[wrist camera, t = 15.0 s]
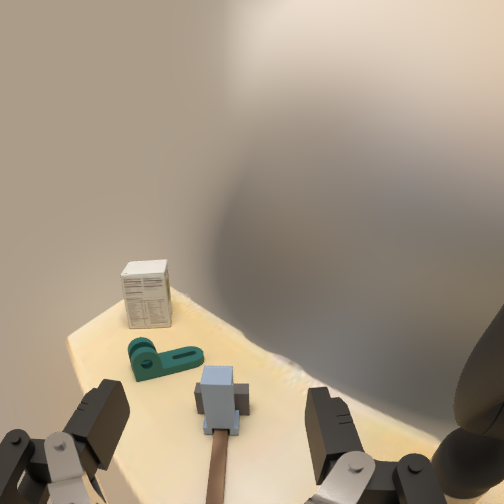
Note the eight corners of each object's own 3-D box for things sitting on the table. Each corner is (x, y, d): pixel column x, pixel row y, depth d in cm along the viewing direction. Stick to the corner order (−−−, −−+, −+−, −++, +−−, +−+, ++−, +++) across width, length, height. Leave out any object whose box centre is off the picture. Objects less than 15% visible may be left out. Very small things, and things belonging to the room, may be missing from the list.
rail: (229, 415, 51) (229, 411, 51) (220, 547, 23) (219, 545, 23) (217, 414, 51) (216, 410, 51) (202, 546, 23) (201, 544, 23)
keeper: (239, 416, 51) (236, 366, 47) (238, 435, 46) (235, 385, 43) (207, 415, 51) (200, 365, 47) (204, 434, 46) (195, 383, 43)
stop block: (249, 404, 54) (248, 383, 53) (249, 415, 51) (248, 393, 50) (199, 403, 54) (196, 382, 53) (197, 413, 51) (194, 392, 50)
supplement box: (171, 327, 85) (164, 272, 80) (129, 329, 82) (119, 275, 78) (173, 308, 97) (167, 258, 93) (135, 310, 95) (128, 261, 90)
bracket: (137, 382, 59) (129, 355, 57) (131, 366, 65) (125, 340, 63) (208, 364, 68) (205, 337, 66) (198, 351, 74) (195, 325, 72)
